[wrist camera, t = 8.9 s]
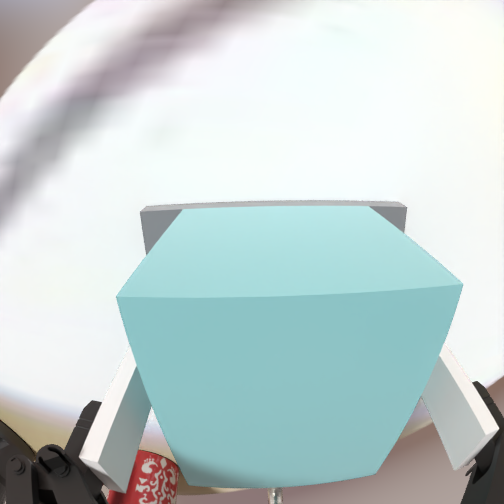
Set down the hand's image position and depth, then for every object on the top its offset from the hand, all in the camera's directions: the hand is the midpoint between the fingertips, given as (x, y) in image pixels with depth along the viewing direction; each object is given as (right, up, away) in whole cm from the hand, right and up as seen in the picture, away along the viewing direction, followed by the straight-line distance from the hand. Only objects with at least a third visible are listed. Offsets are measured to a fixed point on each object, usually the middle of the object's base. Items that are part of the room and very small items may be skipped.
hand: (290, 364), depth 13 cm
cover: (0, 0, +6) cm, 6 cm away
